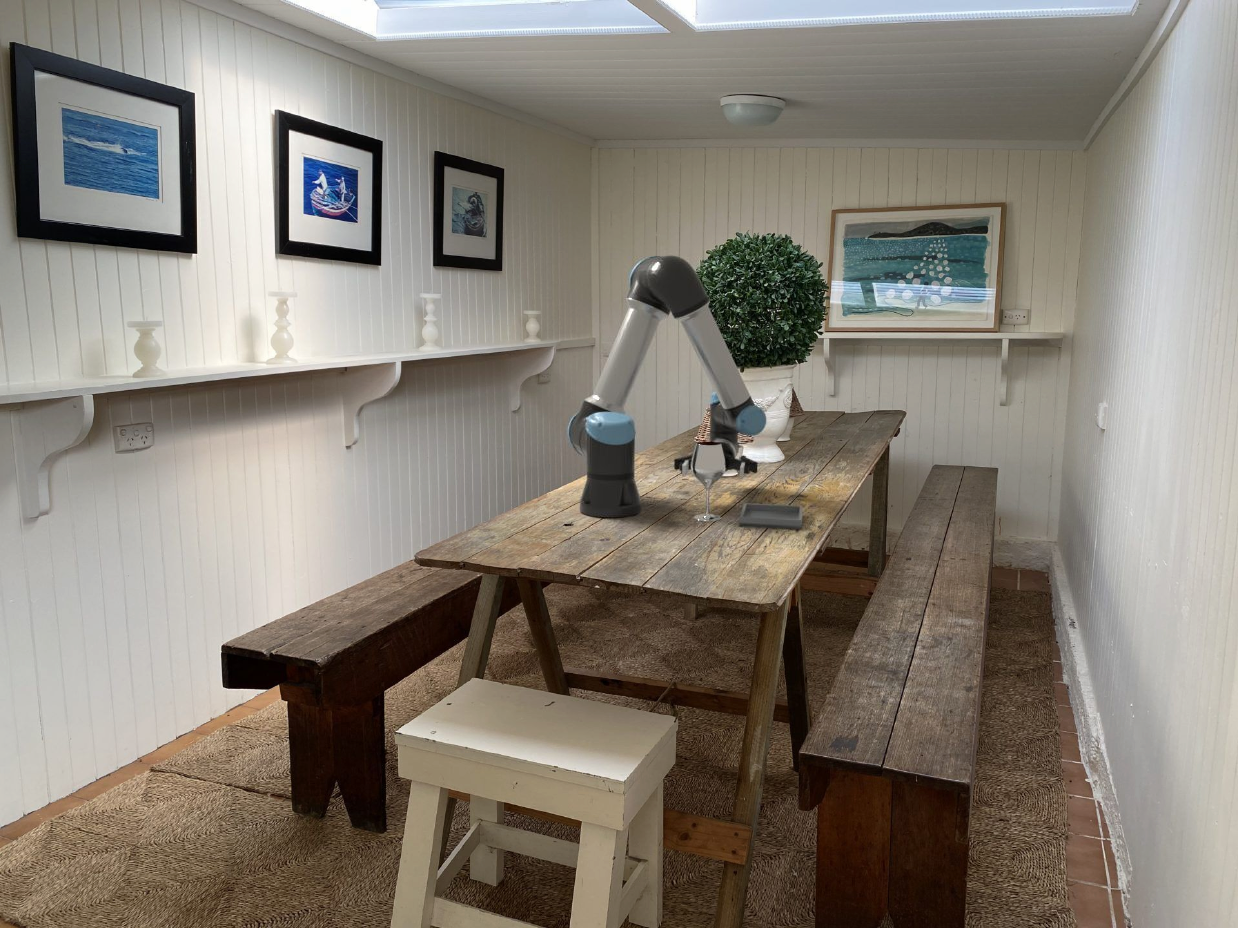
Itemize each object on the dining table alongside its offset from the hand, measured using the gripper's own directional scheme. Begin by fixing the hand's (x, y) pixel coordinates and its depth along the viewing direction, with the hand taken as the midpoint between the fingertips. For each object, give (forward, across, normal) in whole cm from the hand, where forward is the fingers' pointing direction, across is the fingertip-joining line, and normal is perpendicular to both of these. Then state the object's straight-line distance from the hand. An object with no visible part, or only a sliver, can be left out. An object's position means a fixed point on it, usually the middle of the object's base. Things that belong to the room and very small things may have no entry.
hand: (712, 472), depth 224 cm
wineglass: (+1, +1, -11) cm, 11 cm away
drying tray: (0, -14, -11) cm, 18 cm away
